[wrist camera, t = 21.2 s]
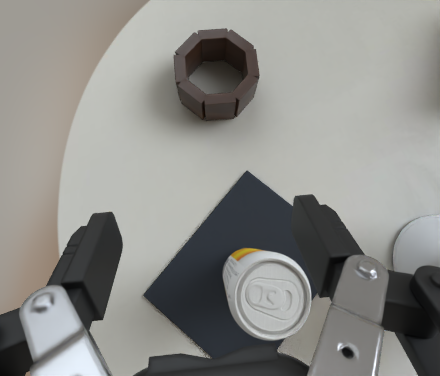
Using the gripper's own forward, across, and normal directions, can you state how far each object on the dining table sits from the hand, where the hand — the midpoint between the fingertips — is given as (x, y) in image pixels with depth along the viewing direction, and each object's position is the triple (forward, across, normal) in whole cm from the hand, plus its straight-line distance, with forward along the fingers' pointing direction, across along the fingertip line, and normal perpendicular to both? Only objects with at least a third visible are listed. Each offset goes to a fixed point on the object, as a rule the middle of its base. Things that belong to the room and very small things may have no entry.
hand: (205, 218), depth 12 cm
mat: (+12, -4, +20) cm, 24 cm away
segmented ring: (+31, -3, +2) cm, 31 cm away
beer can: (+12, -4, +20) cm, 24 cm away
